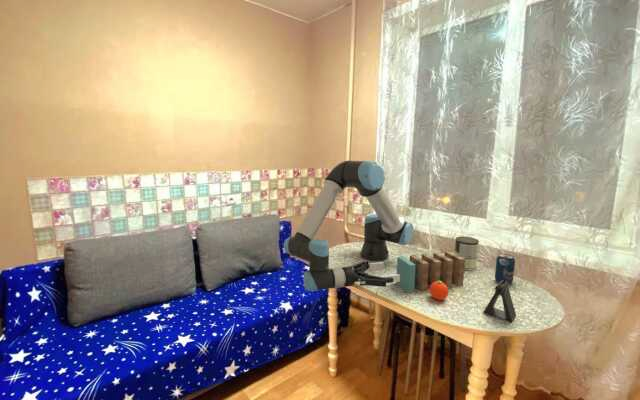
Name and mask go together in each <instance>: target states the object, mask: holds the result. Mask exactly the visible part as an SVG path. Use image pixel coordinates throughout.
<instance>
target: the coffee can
mask: <svg viewBox="0 0 640 400" xmlns="http://www.w3.org/2000/svg"><path fill="white" fill-rule="evenodd" d="M479 243H480V241H479V239H477V238H475V237H470V236H458V237H456V238H455V246H454V247H455V249H454V254H456V255H458V256H460V257H463V258H465V268H464V271H475V270H477V263H478V251H479Z"/></svg>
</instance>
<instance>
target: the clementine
mask: <svg viewBox="0 0 640 400" xmlns="http://www.w3.org/2000/svg"><path fill="white" fill-rule="evenodd" d="M448 288H449V287H447V286H446V285H445V284H444V283H443V282H442V281H436V282H434V283H432V284H431V286H429V293H430V295H431V297H433V299H435V300H437V301H438V300H439V301H442V300H444V299H446V298H447V296H448V295H449V289H448Z"/></svg>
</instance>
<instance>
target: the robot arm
mask: <svg viewBox="0 0 640 400" xmlns="http://www.w3.org/2000/svg"><path fill="white" fill-rule="evenodd" d="M385 181H386V176H385V170H384V167H382V165H381V164H380V163H378V162H376V161H371V160H344V161H342V162H340V163H338V164H336V166H334V167H333V168H332V169H331V170H330V171H329V173H327V175H326V176H325V178H324V180H323V182H322V183H323V186H322V188H321V190H320V192H319V193H318V195H317V196H316V198H315V200H314V201H313V203H312V205H311V207H310V209H309V210H308V212H307V213H306V215H305V217H303V220H302V222H301V223H300V225H299V227H298V228H297V230H296V233H295V234H294V235H293V236H289V237H288V238H285V240H284V242H283V249H284V252H285V253H286V254H287V255H288V254H289V255H290V256H291V257H295V258H297V259H300V260H302V261H305V262H307V263H308V266H309V267H308V270H307V271H304V272H303V276H302V277H303V279H302V281H303V286H304V289H305V290H306V291H307V292H315V291H318V292H319V291H322V290H330V289H337V288H343V287H353V286H354V285H355V283H356V282H357V283H359V286H361V287H364V286H370V287H380V288H381V287H382V288H386V287H387V284H390V283H396V282H400V275H399V274H397V273H396V274H391V275H390V274H389V275H384V276H378V275H371V274H369V273H367V272H366V271H368V270H369V271H373V270H380V269H381V270H382V269H384V262H383V261H385V260H387V259H388V258H389V250H388V247H387V242H389V243H393V244H397V245H402V246H407V245H408V244H409V243H411V241H412V238H413V234H414V224H413V223H412V222H409V221H408V222H407V221H405V218H404V217H403V215H401V214H398V213H397V210H396V209H395V207H394V205H393V203H392V202H391V200H390V198H389V196H388V195H387V193H386V191H385V189H384V185H385ZM346 188H353V189H356V190H357V192H358V193H359V195H360V196H361V197H363V198H366V200H367V202H368V203H369V204H370V206H371V208H372V209H373V210H374V212H375V214H373V213H372V214H368V215H366V216H365V218H364V223H363V224H364V225H363V226H364V227H363V228H364V229H363V231H364V234H363V235H364V237H363V241H364V242H363V245H362V247H361V250H360V257H361V258H363V259H364V260H366V261H361V262H358V263H356V264H354V265H350V266H344V267H343V266H342V267H335V268H329V266H330V264H329V263H330V250H329V249H330V248H329V242H328V241H327V240H326V239H323V238H322V239H320V238H315V236H316V235H317V233H318V231H319V229H320V228H321V226H322V224H323V222H324V221H325V218H326V217H327V215H328V213H329V212H330V210H331V208H332V206H333V205H334V203H335V201H336V200H337V197H338V196H339V194H342V193H343V192H344V190H345V189H346ZM314 238H315V239H314ZM369 261H374V262H371V263H369ZM375 261H377V262H375ZM378 261H379V262H378Z"/></svg>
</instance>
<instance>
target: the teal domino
mask: <svg viewBox="0 0 640 400" xmlns="http://www.w3.org/2000/svg"><path fill="white" fill-rule="evenodd" d="M396 257H397V258H396V259H397V262H396V275H397V274H399V275H400V282H395V283H396V284H397V285H398V286H400V287H401V288H402V289H403V290H405V291H406V292H407V293H408V294H411V293H414V292H415V286H414V284H415V266H416V265H415V264H414V263H412V262H411V261H410V259H409V258H408V259H407V258H406V257H404V256H396Z"/></svg>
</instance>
